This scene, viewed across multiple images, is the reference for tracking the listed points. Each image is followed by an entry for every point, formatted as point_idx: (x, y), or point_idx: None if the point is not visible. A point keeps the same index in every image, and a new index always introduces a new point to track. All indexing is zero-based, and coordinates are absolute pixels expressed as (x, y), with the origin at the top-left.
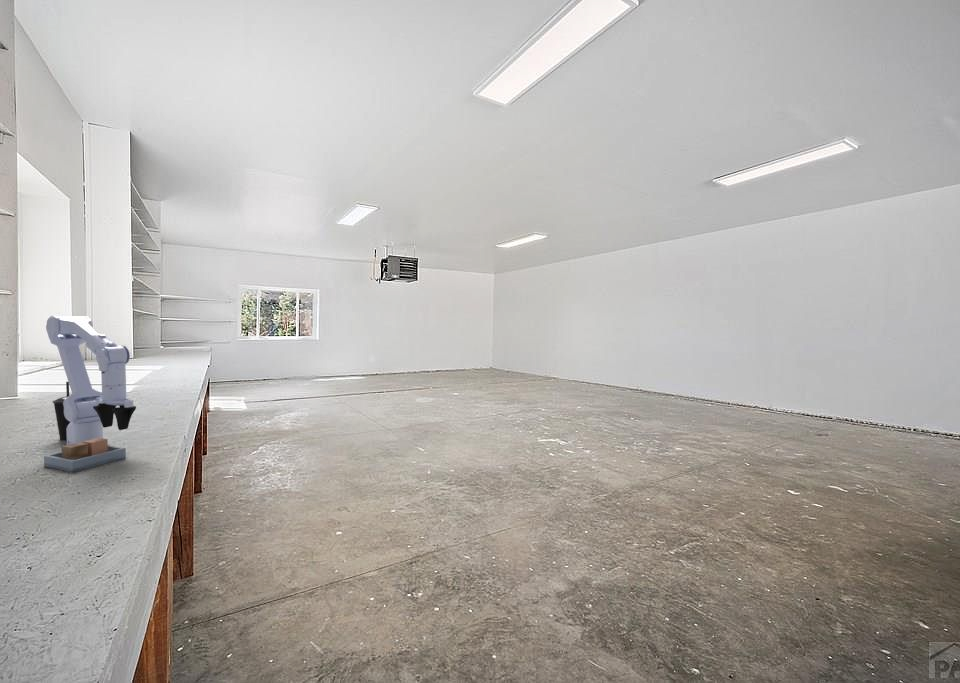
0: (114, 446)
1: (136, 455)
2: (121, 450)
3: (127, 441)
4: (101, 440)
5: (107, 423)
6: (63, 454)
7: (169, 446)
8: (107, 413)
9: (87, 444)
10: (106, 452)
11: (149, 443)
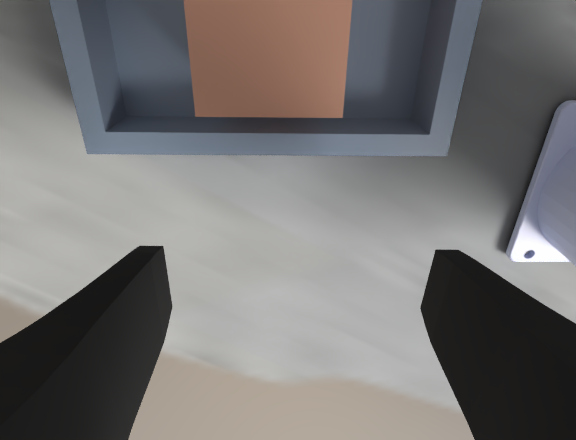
0: (221, 150)
1: (118, 186)
2: (85, 120)
3: None
4: (198, 59)
5: (444, 303)
6: None
7: None
8: (521, 431)
9: None
10: (64, 2)
11: (313, 339)
